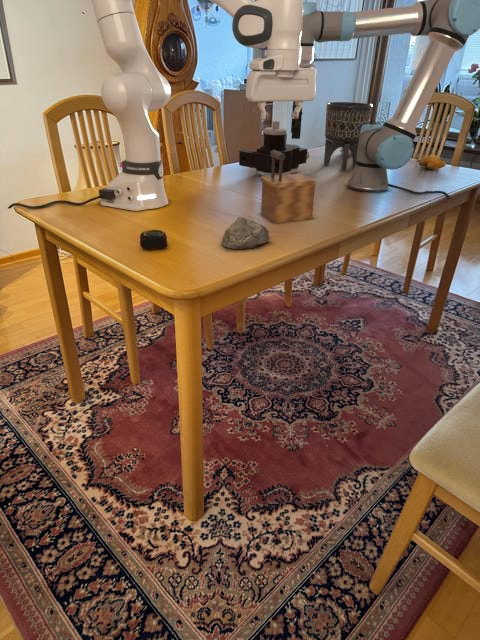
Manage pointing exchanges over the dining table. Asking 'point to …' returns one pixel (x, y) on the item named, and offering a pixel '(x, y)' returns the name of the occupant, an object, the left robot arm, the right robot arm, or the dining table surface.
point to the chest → (287, 203)
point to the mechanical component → (276, 141)
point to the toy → (432, 162)
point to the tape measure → (153, 239)
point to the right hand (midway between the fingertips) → (295, 135)
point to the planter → (344, 129)
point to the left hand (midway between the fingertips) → (279, 119)
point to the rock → (245, 234)
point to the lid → (281, 179)
